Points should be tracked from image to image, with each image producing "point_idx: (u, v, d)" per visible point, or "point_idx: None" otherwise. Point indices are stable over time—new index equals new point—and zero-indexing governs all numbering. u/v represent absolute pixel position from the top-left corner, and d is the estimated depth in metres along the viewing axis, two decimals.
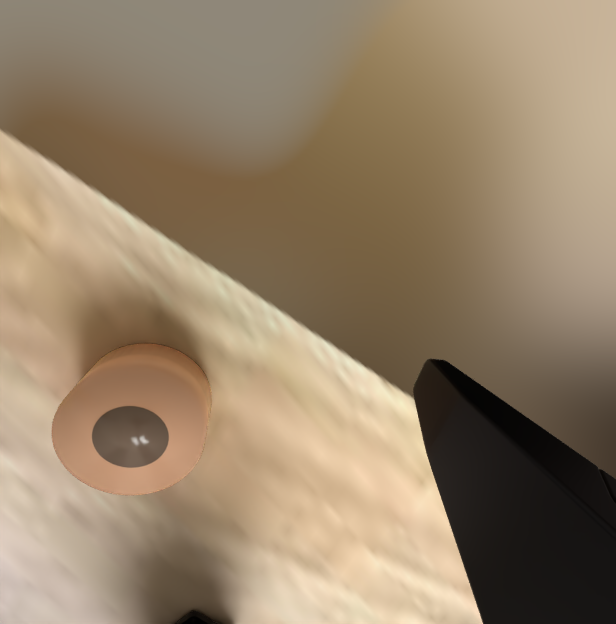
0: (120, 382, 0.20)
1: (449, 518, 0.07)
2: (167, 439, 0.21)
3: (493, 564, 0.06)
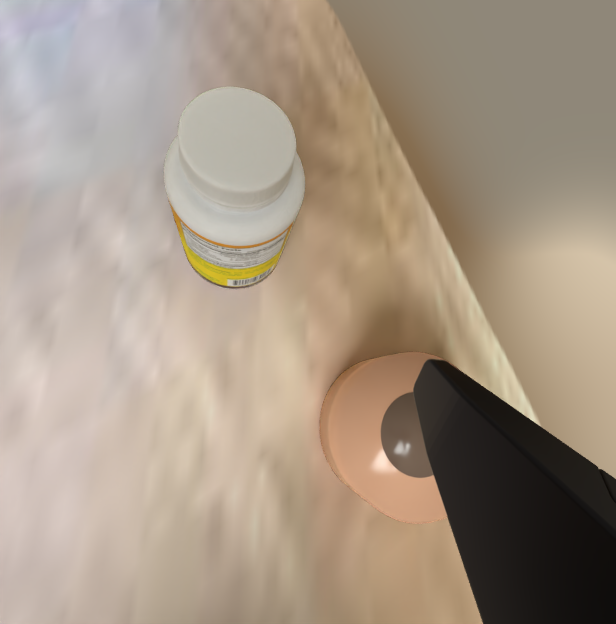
0: None
1: (449, 518, 0.07)
2: None
3: (493, 564, 0.06)
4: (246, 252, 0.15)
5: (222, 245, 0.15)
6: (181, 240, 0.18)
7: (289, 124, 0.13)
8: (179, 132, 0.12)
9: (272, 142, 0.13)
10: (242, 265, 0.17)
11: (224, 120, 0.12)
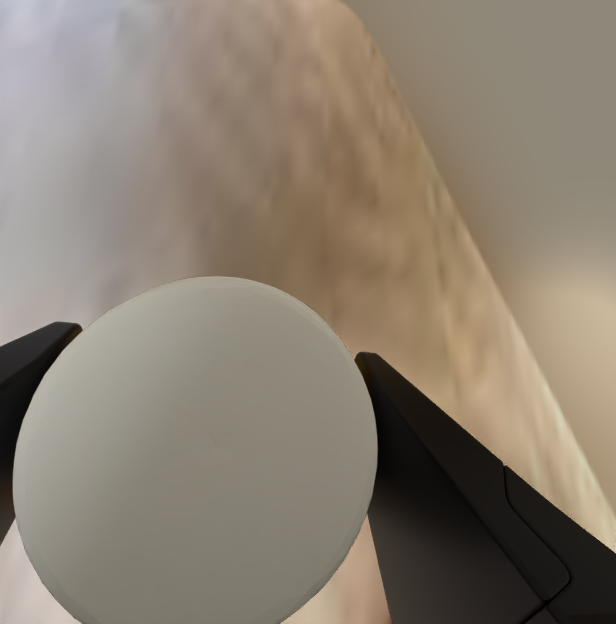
0: None
1: (369, 518, 0.07)
2: None
3: (401, 566, 0.06)
4: None
5: None
6: None
7: (357, 380, 0.05)
8: (16, 469, 0.04)
9: (312, 450, 0.04)
10: None
11: (170, 398, 0.04)
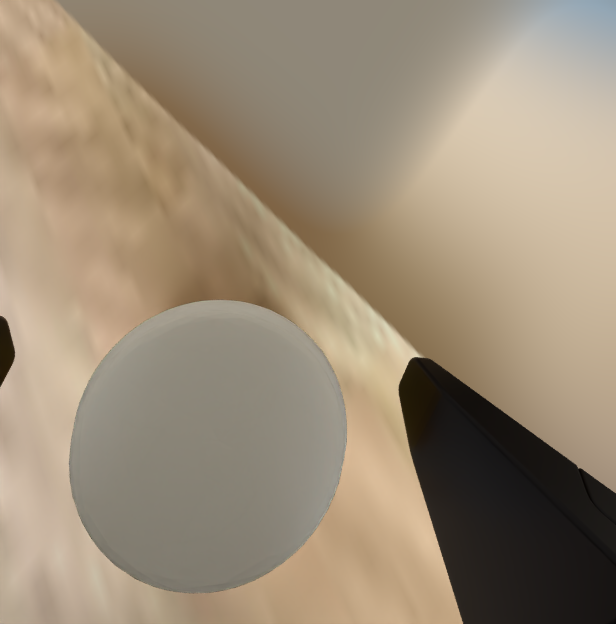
0: None
1: (431, 518, 0.07)
2: None
3: (473, 564, 0.06)
4: None
5: None
6: None
7: (330, 390, 0.06)
8: (72, 455, 0.05)
9: (293, 444, 0.06)
10: None
11: (185, 403, 0.05)
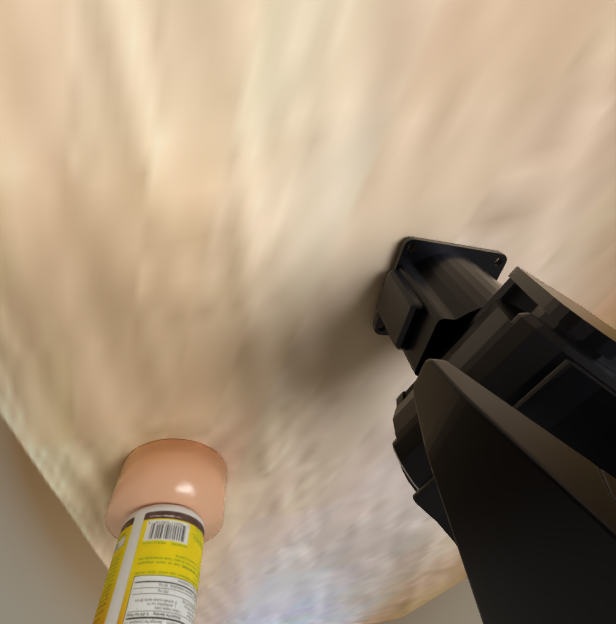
0: None
1: (448, 519, 0.07)
2: None
3: (493, 564, 0.06)
4: (162, 620, 0.20)
5: None
6: None
7: None
8: None
9: None
10: (170, 587, 0.21)
11: None
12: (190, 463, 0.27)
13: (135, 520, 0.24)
